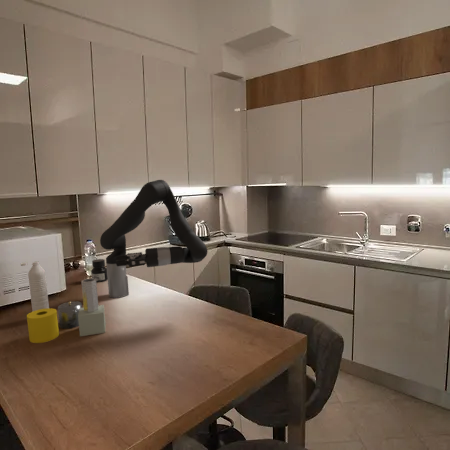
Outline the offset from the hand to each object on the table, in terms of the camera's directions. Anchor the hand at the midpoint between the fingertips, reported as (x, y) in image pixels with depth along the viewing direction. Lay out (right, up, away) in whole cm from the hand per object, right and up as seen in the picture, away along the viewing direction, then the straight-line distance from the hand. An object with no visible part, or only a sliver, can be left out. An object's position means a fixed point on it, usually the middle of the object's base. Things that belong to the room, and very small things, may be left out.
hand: (116, 261), depth 139 cm
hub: (-20, -26, +7) cm, 34 cm away
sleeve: (-9, -19, -1) cm, 21 cm away
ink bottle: (-31, -19, +70) cm, 79 cm away
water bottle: (-37, -26, +14) cm, 48 cm away
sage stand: (-9, -27, +1) cm, 28 cm away
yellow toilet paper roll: (-26, -28, -4) cm, 39 cm away
